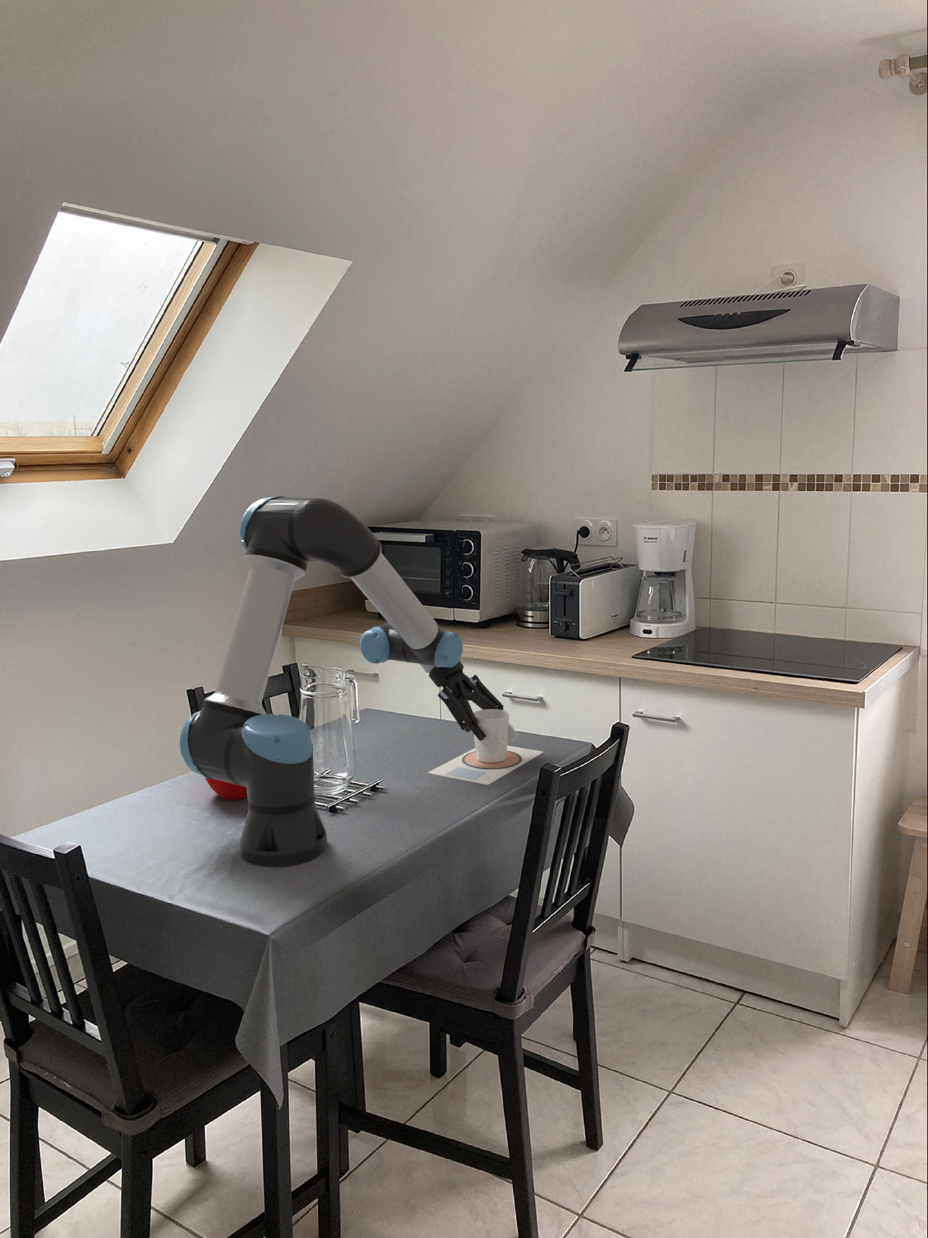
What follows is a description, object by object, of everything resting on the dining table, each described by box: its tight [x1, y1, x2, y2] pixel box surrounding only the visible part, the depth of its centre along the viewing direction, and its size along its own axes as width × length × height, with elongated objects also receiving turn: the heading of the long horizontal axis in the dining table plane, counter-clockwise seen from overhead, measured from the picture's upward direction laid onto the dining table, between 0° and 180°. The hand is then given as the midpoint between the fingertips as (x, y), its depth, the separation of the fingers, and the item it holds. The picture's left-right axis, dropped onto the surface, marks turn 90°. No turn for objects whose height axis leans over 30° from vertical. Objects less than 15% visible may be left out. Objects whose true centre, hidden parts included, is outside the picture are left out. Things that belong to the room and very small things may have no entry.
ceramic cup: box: [204, 777, 247, 800], centre depth 208 cm, size 13×17×10 cm
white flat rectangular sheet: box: [427, 745, 544, 786], centre depth 221 cm, size 24×15×1 cm, turn 147°
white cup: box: [473, 709, 510, 763], centre depth 222 cm, size 8×8×10 cm
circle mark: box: [462, 751, 522, 770], centre depth 223 cm, size 13×13×1 cm
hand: (504, 744), depth 220 cm, fingers closed on white cup, 8 cm apart
